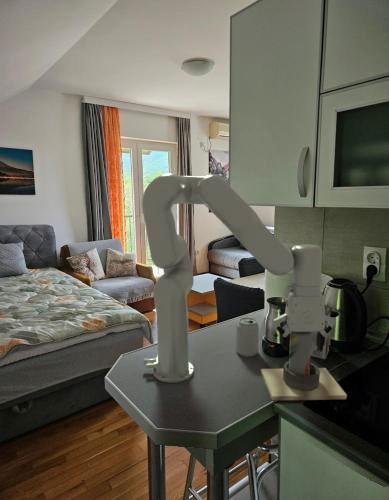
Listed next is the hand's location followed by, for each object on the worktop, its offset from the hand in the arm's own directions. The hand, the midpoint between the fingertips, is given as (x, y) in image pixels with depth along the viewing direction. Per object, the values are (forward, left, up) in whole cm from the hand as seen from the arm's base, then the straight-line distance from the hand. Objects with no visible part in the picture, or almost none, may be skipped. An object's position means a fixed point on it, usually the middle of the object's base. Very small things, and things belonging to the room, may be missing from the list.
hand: (302, 348), depth 93 cm
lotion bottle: (-1, 0, -10) cm, 10 cm away
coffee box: (+13, +20, -12) cm, 27 cm away
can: (-12, +20, -12) cm, 26 cm away
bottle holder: (0, 0, -11) cm, 11 cm away
